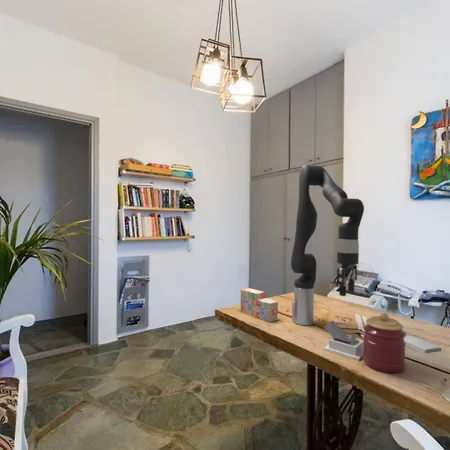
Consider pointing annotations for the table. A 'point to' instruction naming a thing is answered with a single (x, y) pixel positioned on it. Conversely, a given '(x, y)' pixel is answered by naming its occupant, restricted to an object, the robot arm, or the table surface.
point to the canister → (384, 344)
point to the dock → (346, 348)
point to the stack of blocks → (258, 305)
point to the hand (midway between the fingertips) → (346, 293)
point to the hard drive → (420, 344)
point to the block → (339, 333)
